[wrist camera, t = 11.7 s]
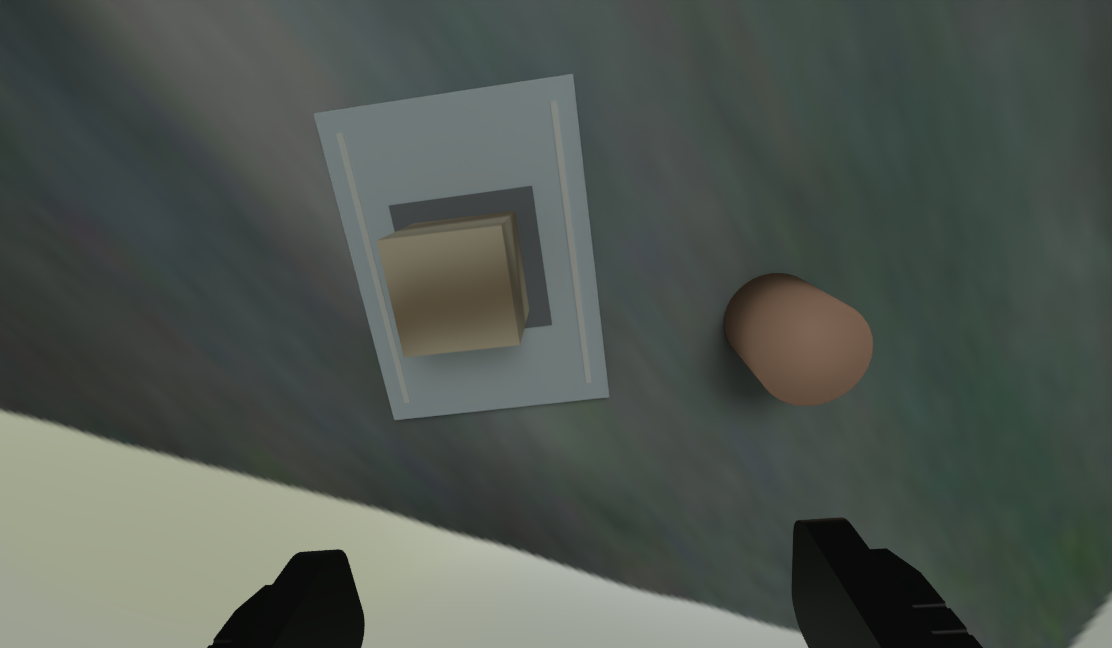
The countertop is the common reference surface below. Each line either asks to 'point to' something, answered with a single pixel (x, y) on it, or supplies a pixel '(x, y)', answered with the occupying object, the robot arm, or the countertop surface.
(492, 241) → the birch cube
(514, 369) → the base
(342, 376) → the countertop surface
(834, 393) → the terracotta cylinder
